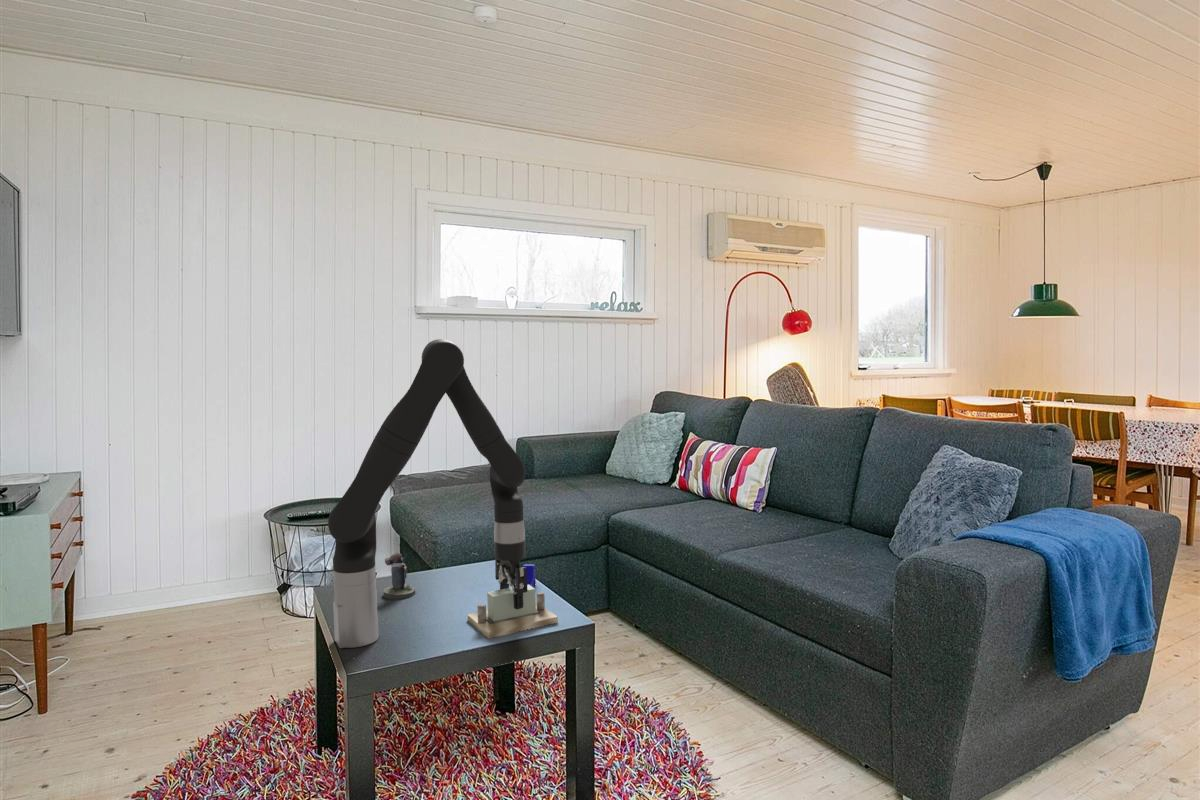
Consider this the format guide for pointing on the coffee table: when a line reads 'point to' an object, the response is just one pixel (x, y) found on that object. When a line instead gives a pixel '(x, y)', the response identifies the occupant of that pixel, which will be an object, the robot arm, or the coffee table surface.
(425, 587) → the coffee table surface
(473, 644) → the coffee table surface
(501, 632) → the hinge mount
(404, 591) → the figurine
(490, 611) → the door block
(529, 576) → the blue piece
